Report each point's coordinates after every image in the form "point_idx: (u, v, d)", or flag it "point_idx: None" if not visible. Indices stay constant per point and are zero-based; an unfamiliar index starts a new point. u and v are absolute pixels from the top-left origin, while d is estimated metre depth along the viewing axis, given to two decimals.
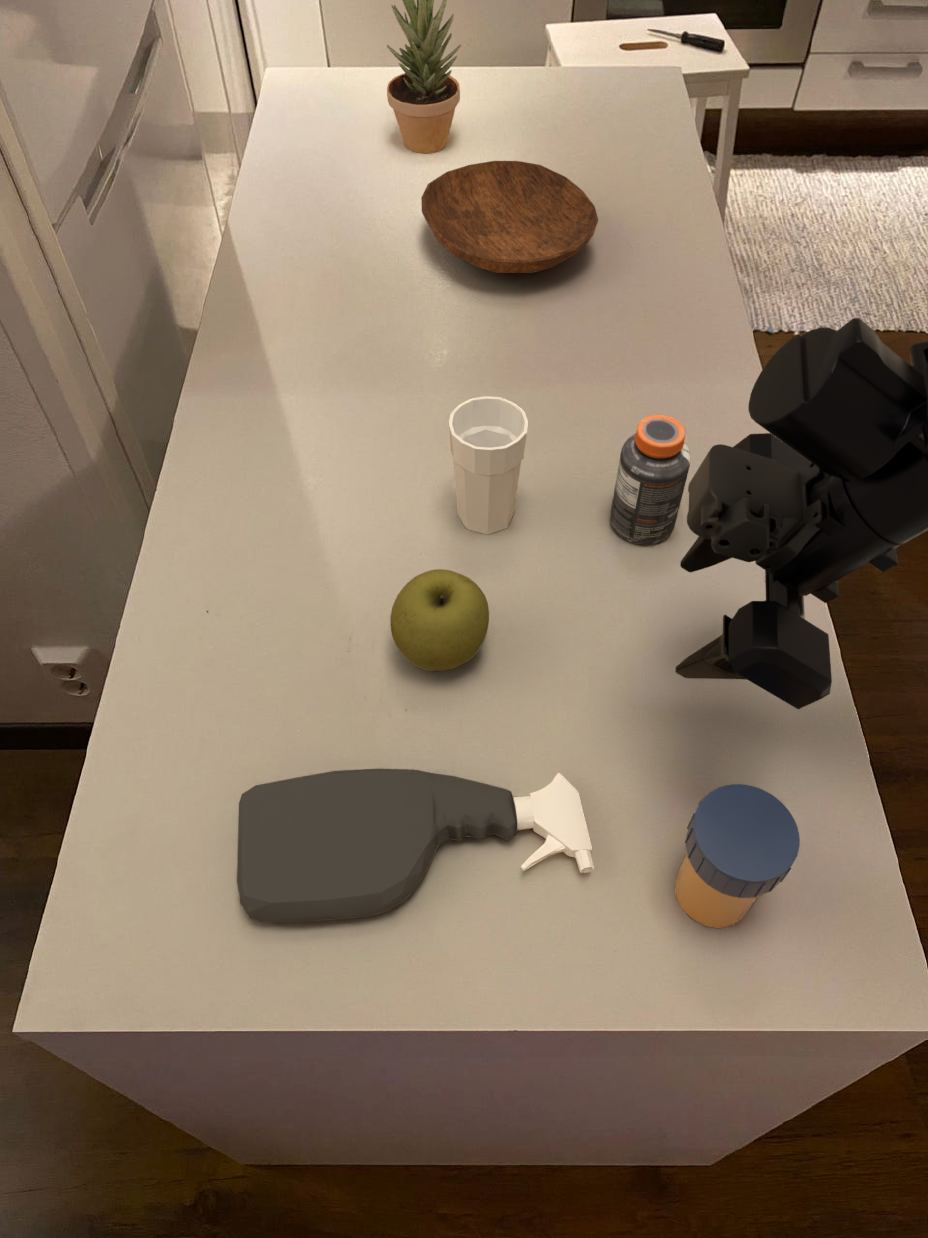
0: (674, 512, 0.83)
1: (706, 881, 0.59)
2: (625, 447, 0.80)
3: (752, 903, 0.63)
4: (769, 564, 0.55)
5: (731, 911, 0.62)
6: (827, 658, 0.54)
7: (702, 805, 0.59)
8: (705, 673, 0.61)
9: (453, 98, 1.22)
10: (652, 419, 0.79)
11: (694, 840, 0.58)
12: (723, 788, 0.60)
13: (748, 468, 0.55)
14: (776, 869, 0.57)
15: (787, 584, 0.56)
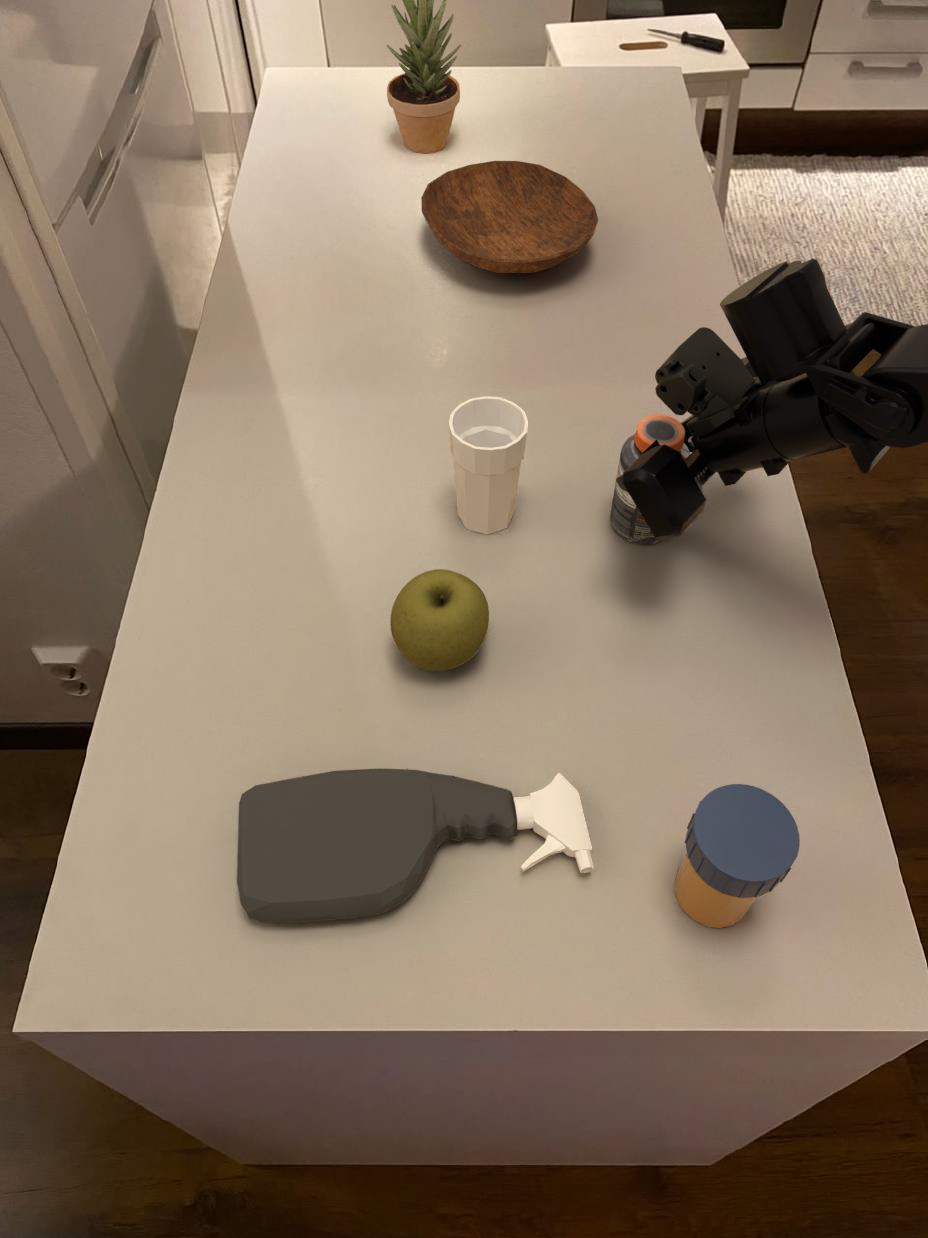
0: None
1: (706, 881, 0.59)
2: (625, 447, 0.80)
3: (752, 903, 0.63)
4: (694, 429, 0.72)
5: (731, 911, 0.62)
6: (691, 510, 0.71)
7: (702, 805, 0.59)
8: None
9: (453, 98, 1.22)
10: (651, 419, 0.79)
11: (694, 840, 0.58)
12: (723, 788, 0.60)
13: (718, 354, 0.71)
14: (776, 869, 0.57)
15: (701, 453, 0.73)
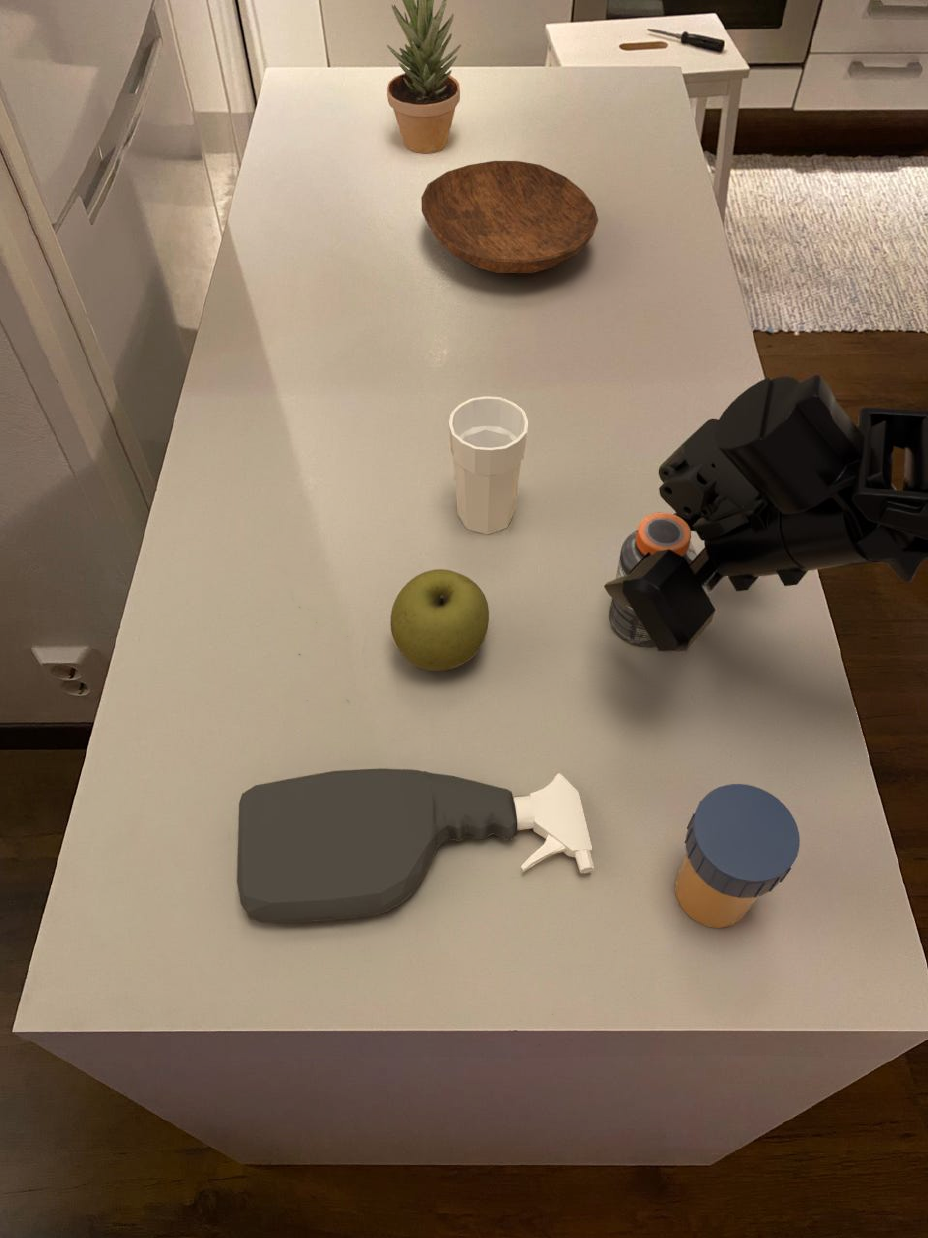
0: None
1: (706, 881, 0.59)
2: (625, 547, 0.73)
3: (752, 903, 0.63)
4: (702, 532, 0.64)
5: (731, 911, 0.62)
6: (699, 623, 0.64)
7: (702, 805, 0.59)
8: (622, 597, 0.71)
9: (453, 98, 1.22)
10: (654, 518, 0.72)
11: (694, 840, 0.58)
12: (723, 788, 0.60)
13: None
14: (776, 869, 0.57)
15: (710, 557, 0.65)
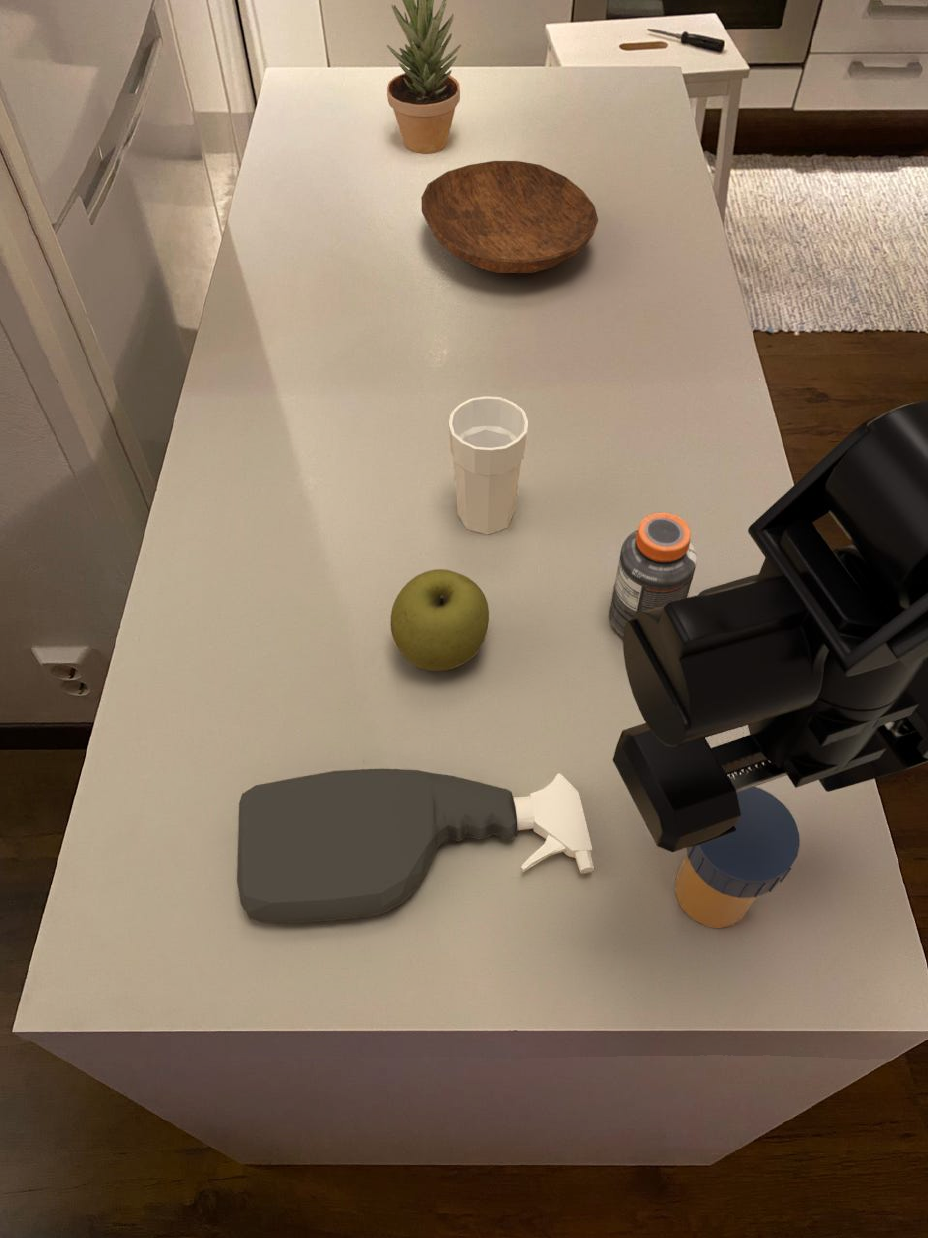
0: None
1: (706, 881, 0.59)
2: (625, 547, 0.73)
3: (752, 903, 0.63)
4: None
5: (731, 911, 0.62)
6: (698, 797, 0.45)
7: None
8: None
9: (453, 98, 1.22)
10: (654, 518, 0.72)
11: None
12: None
13: None
14: (776, 869, 0.57)
15: (750, 734, 0.48)
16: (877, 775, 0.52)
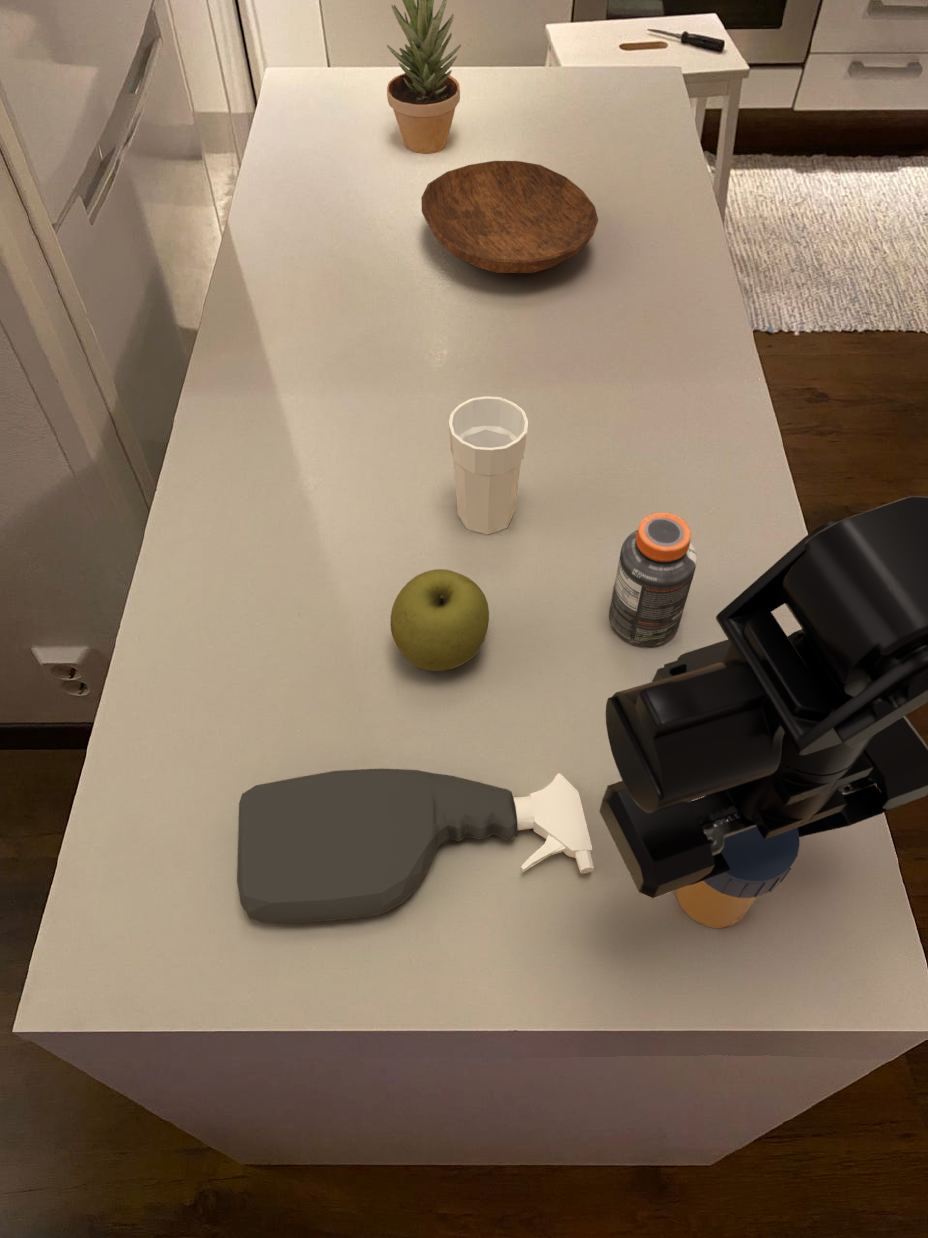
0: (679, 614, 0.76)
1: (706, 881, 0.59)
2: (625, 547, 0.73)
3: (752, 903, 0.63)
4: None
5: (731, 911, 0.62)
6: (676, 850, 0.50)
7: None
8: None
9: (453, 98, 1.22)
10: (654, 518, 0.72)
11: None
12: None
13: None
14: (776, 869, 0.57)
15: (724, 789, 0.52)
16: (825, 829, 0.56)
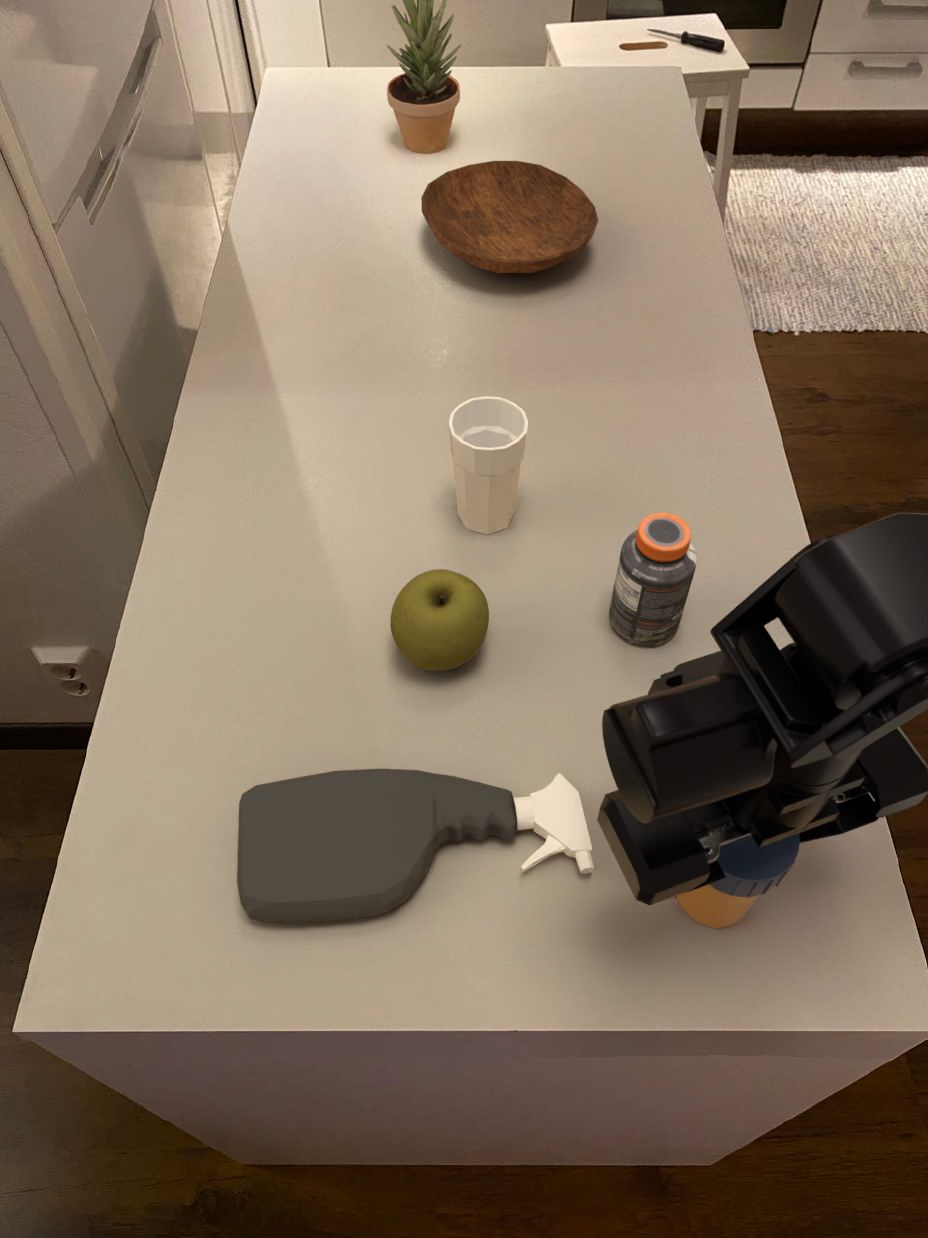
0: (679, 614, 0.76)
1: (746, 896, 0.58)
2: (625, 547, 0.73)
3: (752, 903, 0.63)
4: None
5: (731, 911, 0.62)
6: (672, 858, 0.51)
7: None
8: None
9: (453, 98, 1.22)
10: (654, 518, 0.72)
11: None
12: None
13: None
14: (793, 841, 0.57)
15: None
16: (819, 837, 0.57)
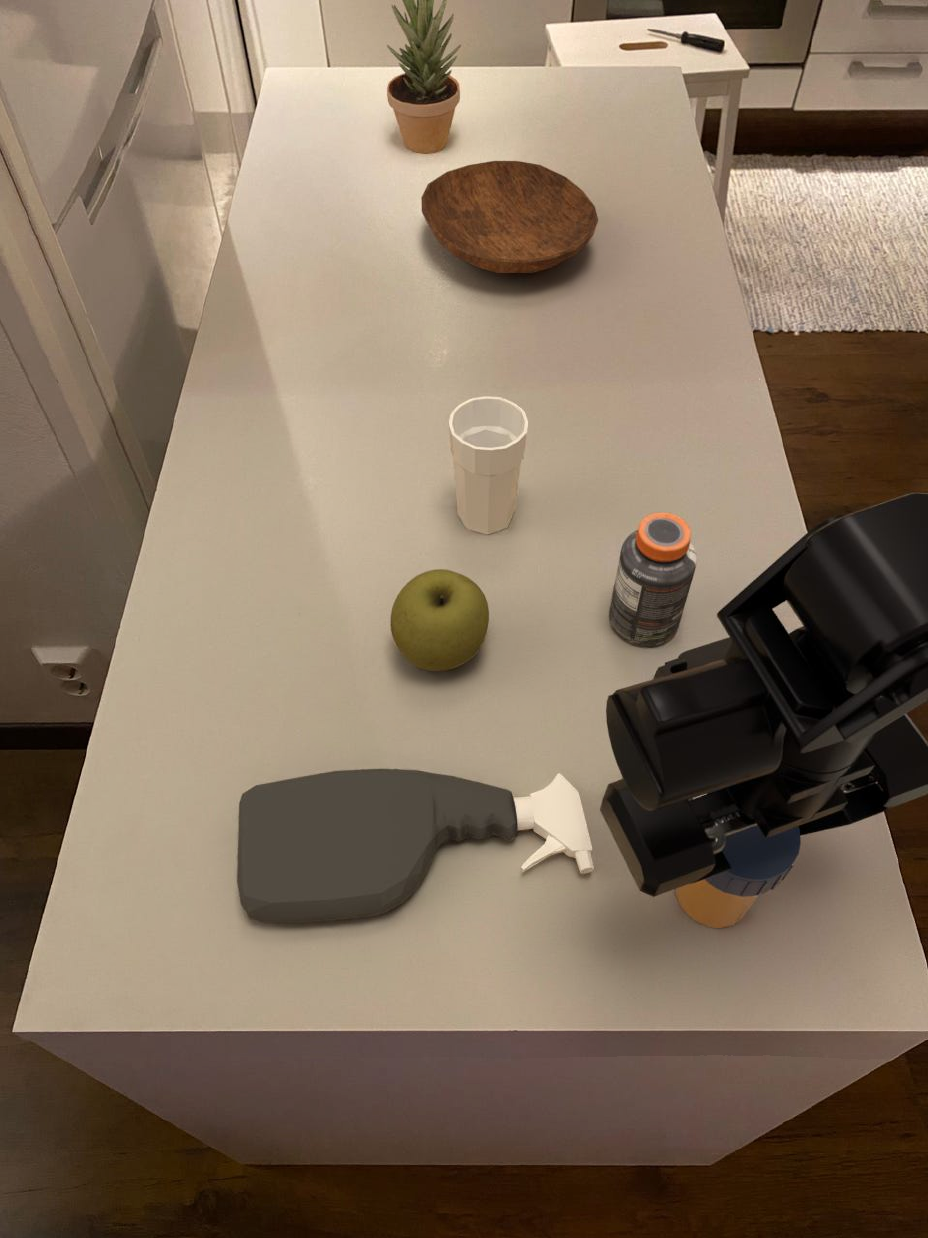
0: (679, 614, 0.76)
1: None
2: (625, 546, 0.73)
3: (752, 903, 0.63)
4: None
5: (731, 911, 0.62)
6: (676, 848, 0.50)
7: None
8: None
9: (453, 98, 1.22)
10: (654, 518, 0.72)
11: (762, 882, 0.56)
12: None
13: None
14: None
15: (725, 787, 0.52)
16: (826, 827, 0.56)
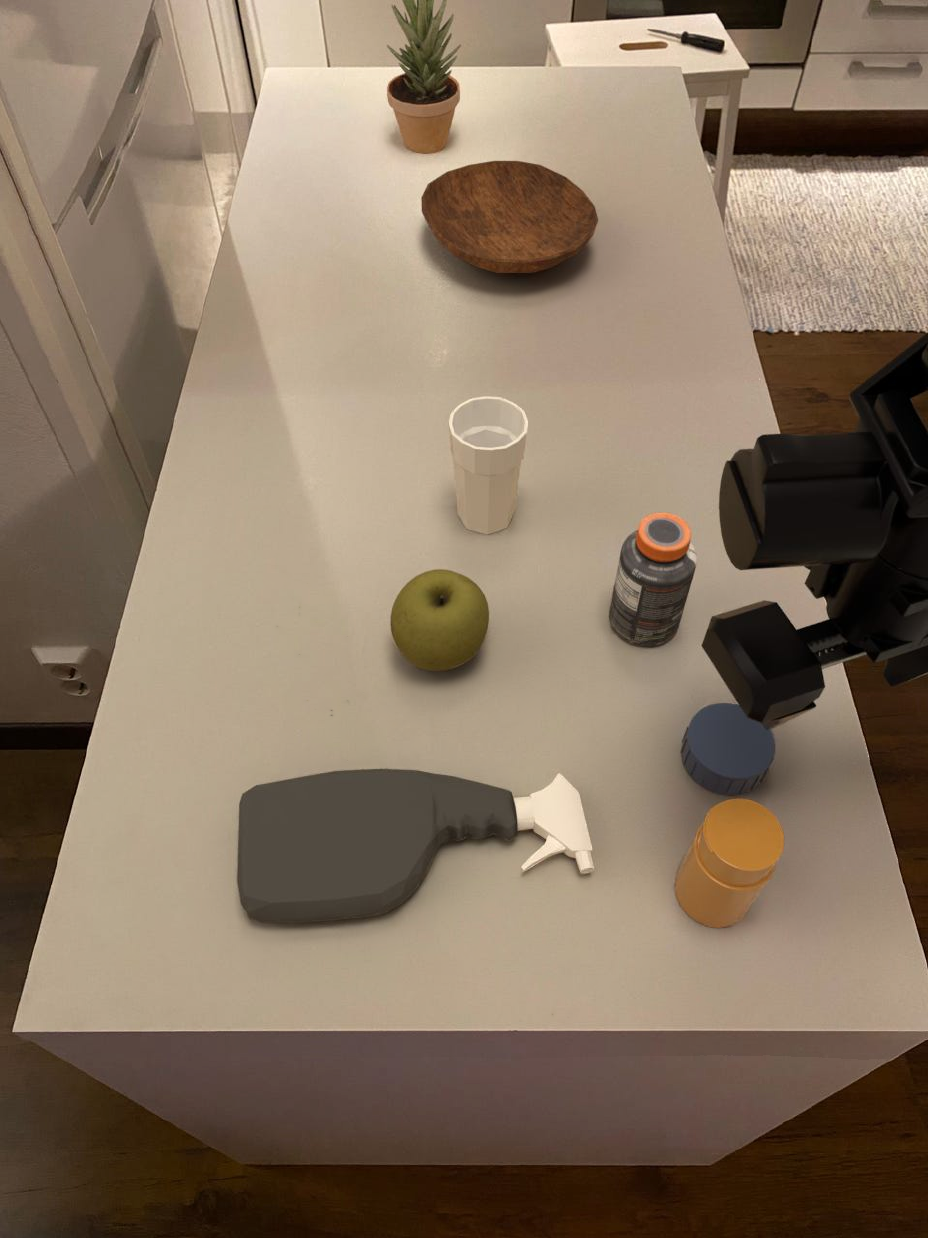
0: (679, 614, 0.76)
1: (759, 782, 0.71)
2: (625, 547, 0.73)
3: (752, 903, 0.63)
4: (813, 585, 0.53)
5: (732, 911, 0.62)
6: (787, 670, 0.49)
7: (714, 769, 0.69)
8: None
9: (453, 98, 1.22)
10: (654, 518, 0.72)
11: (743, 781, 0.69)
12: (695, 751, 0.69)
13: None
14: (760, 723, 0.71)
15: (830, 618, 0.52)
16: None
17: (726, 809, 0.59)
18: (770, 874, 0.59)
